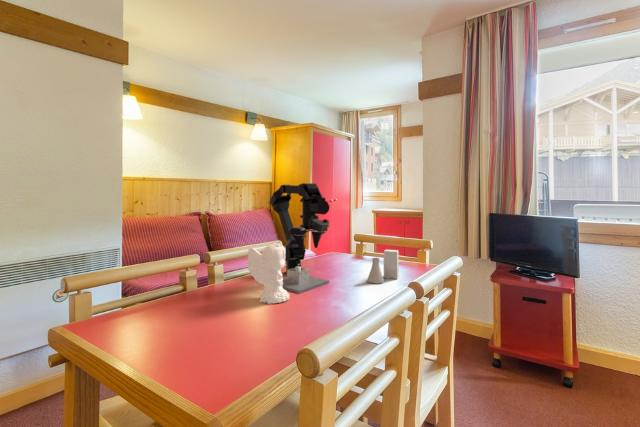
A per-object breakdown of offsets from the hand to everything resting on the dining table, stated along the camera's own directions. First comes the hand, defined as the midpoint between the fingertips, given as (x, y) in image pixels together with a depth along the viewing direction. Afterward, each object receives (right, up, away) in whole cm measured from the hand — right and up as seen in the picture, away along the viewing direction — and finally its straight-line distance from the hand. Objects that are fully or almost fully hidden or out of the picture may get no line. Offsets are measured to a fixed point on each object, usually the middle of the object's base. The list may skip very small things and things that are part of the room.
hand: (309, 249), depth 143 cm
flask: (+28, -14, -2) cm, 31 cm away
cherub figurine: (-13, -15, -24) cm, 31 cm away
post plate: (-4, -14, -6) cm, 15 cm away
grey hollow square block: (-4, -13, -6) cm, 14 cm away
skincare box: (+36, -13, +4) cm, 38 cm away
